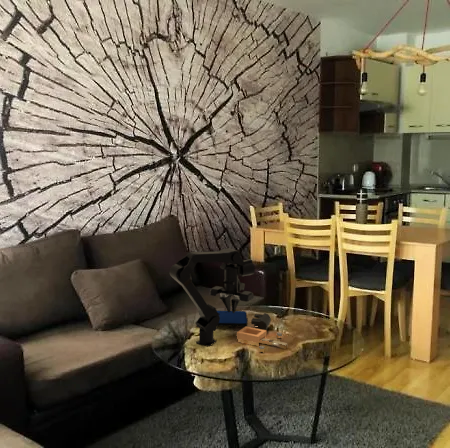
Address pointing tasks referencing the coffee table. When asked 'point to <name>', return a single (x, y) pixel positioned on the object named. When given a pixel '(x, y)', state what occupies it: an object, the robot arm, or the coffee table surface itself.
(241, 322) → the handheld game console
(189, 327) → the coffee table surface
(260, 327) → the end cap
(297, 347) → the coffee table surface
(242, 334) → the collar
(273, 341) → the rail
